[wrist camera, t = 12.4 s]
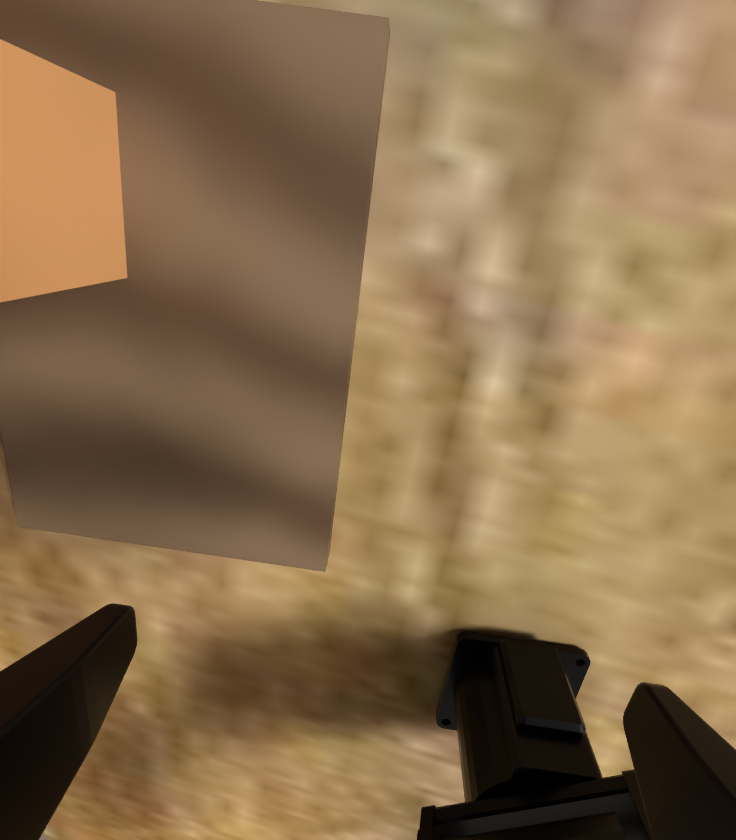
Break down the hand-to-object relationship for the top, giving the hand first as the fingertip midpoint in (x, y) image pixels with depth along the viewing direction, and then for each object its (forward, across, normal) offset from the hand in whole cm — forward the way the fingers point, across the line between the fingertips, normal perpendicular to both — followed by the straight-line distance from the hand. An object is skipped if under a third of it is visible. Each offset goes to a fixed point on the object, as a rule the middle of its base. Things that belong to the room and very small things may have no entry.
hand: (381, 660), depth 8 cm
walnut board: (+12, +9, -2) cm, 15 cm away
